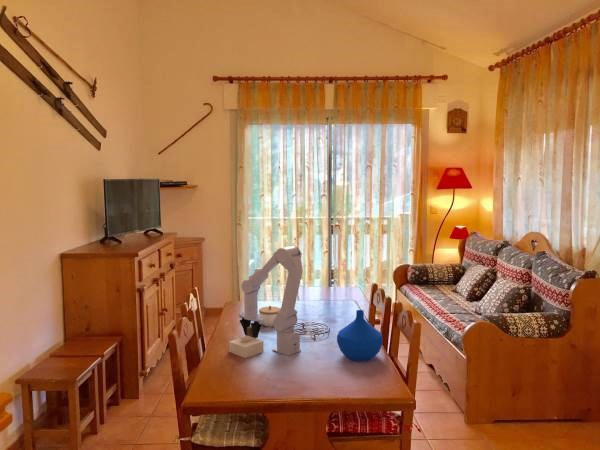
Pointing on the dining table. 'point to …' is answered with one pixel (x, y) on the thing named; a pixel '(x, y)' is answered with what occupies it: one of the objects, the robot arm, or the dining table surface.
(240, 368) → the dining table surface
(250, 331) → the brown rectangular block
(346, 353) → the vase
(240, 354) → the cream square hole block
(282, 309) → the robot arm
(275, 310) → the lidded jar
